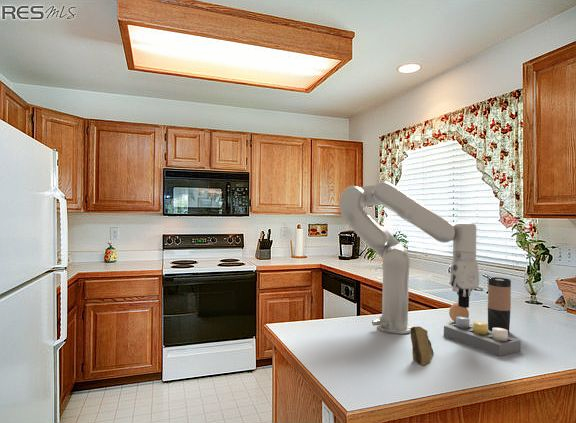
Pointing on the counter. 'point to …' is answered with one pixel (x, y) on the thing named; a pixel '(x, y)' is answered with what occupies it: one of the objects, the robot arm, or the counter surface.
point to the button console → (482, 340)
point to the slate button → (462, 322)
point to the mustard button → (480, 328)
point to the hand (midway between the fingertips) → (463, 306)
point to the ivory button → (500, 334)
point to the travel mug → (499, 303)
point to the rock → (421, 346)
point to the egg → (458, 312)
